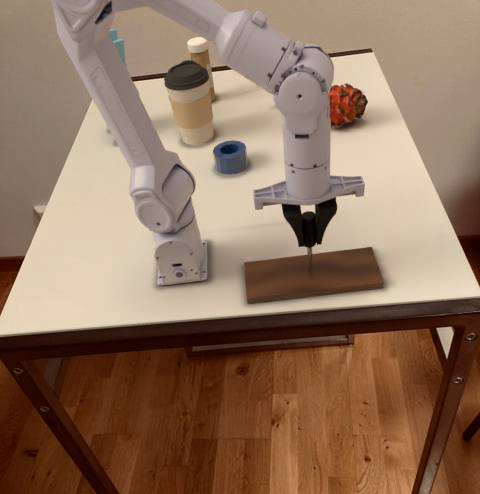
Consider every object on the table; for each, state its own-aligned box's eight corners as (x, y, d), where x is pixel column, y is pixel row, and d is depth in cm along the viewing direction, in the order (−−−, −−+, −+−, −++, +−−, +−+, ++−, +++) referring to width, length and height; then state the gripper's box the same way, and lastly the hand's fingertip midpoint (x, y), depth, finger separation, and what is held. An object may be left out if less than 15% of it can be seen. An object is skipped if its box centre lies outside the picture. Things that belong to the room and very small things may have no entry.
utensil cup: (249, 173, 99) (247, 155, 96) (216, 178, 99) (212, 160, 96) (247, 156, 103) (245, 138, 100) (215, 160, 103) (212, 142, 100)
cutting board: (383, 287, 74) (384, 282, 73) (247, 303, 75) (246, 298, 74) (371, 252, 80) (371, 246, 79) (244, 267, 81) (243, 262, 80)
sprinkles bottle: (194, 103, 122) (183, 44, 112) (202, 95, 124) (191, 36, 115) (212, 104, 120) (202, 44, 110) (219, 95, 123) (210, 36, 113)
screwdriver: (315, 258, 77) (314, 209, 71) (317, 267, 76) (316, 219, 69) (302, 259, 78) (300, 211, 71) (304, 269, 76) (302, 221, 69)
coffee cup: (213, 149, 107) (200, 76, 95) (172, 149, 109) (155, 78, 97) (222, 127, 112) (211, 56, 101) (184, 127, 114) (169, 58, 103)
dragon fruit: (371, 129, 107) (314, 141, 110) (367, 91, 108) (310, 104, 111) (370, 110, 99) (308, 123, 102) (365, 69, 100) (304, 83, 103)
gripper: (358, 133, 66) (354, 218, 76) (247, 148, 67) (257, 230, 77) (370, 161, 61) (364, 248, 71) (250, 177, 62) (261, 261, 72)
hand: (309, 241), depth 73 cm, fingers closed on screwdriver, 2 cm apart
